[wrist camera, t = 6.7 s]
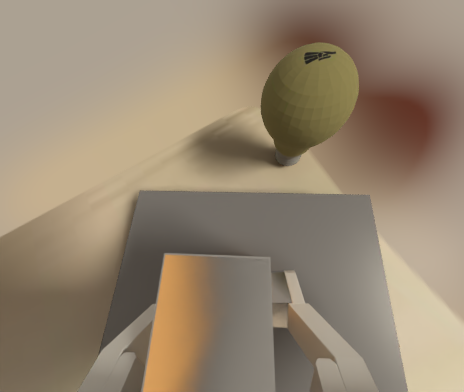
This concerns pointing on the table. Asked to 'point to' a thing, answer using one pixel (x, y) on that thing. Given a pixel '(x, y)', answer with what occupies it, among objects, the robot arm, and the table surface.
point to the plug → (212, 326)
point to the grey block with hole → (273, 267)
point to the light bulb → (308, 98)
